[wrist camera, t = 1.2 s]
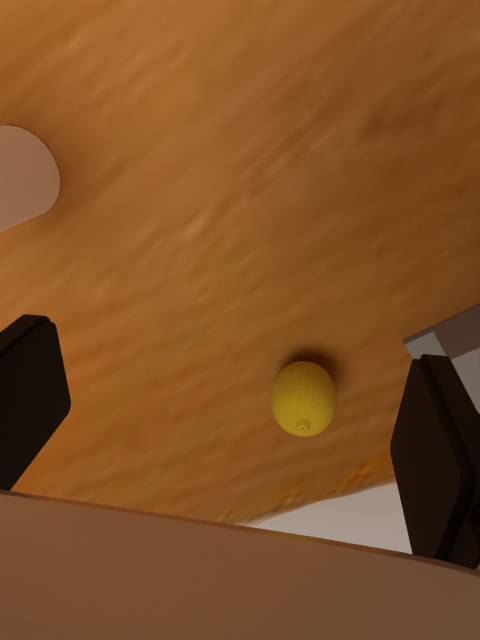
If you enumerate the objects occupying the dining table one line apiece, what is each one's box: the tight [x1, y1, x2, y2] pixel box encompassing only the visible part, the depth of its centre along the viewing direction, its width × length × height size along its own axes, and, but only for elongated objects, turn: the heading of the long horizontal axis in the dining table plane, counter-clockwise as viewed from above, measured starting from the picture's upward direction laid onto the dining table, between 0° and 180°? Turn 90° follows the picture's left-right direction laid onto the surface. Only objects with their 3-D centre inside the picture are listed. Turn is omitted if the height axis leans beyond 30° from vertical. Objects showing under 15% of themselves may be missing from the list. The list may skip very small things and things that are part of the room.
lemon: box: [271, 361, 337, 437], centre depth 36 cm, size 6×6×8 cm
